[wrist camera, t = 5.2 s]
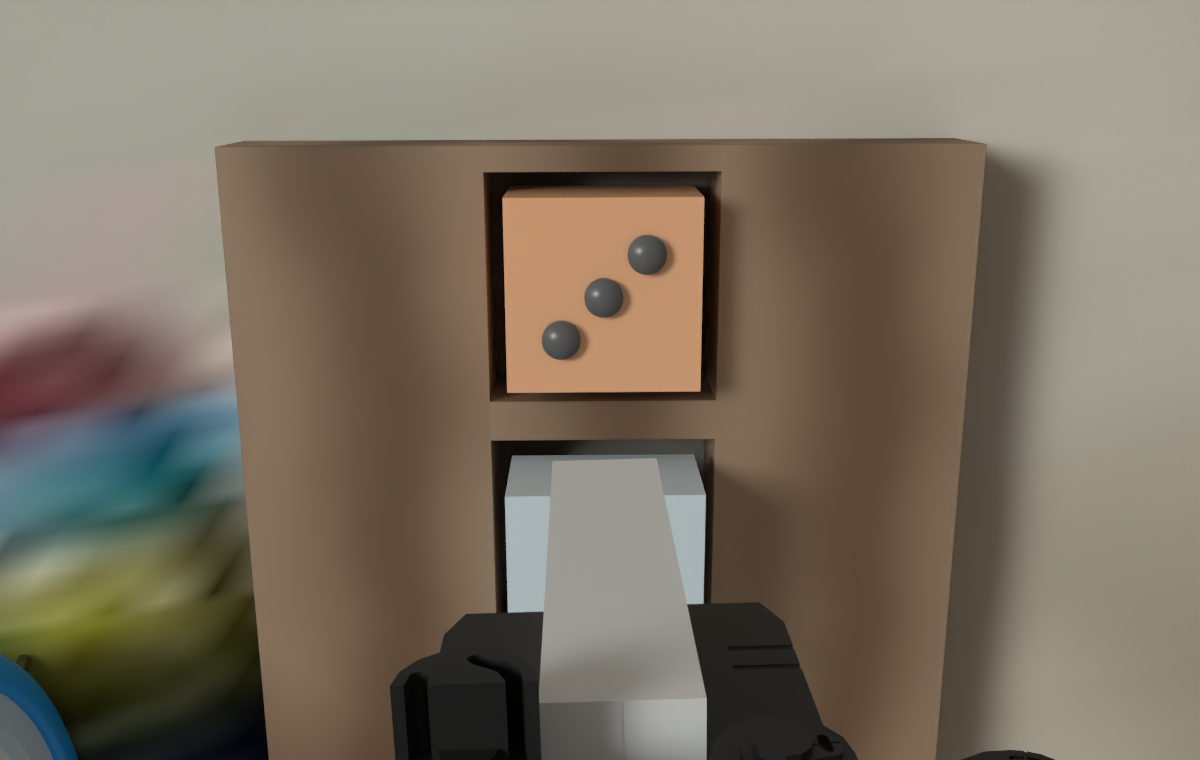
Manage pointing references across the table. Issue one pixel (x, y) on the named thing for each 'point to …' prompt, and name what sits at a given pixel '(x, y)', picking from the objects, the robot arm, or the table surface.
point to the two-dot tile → (531, 523)
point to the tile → (603, 288)
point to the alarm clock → (29, 717)
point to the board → (599, 409)
